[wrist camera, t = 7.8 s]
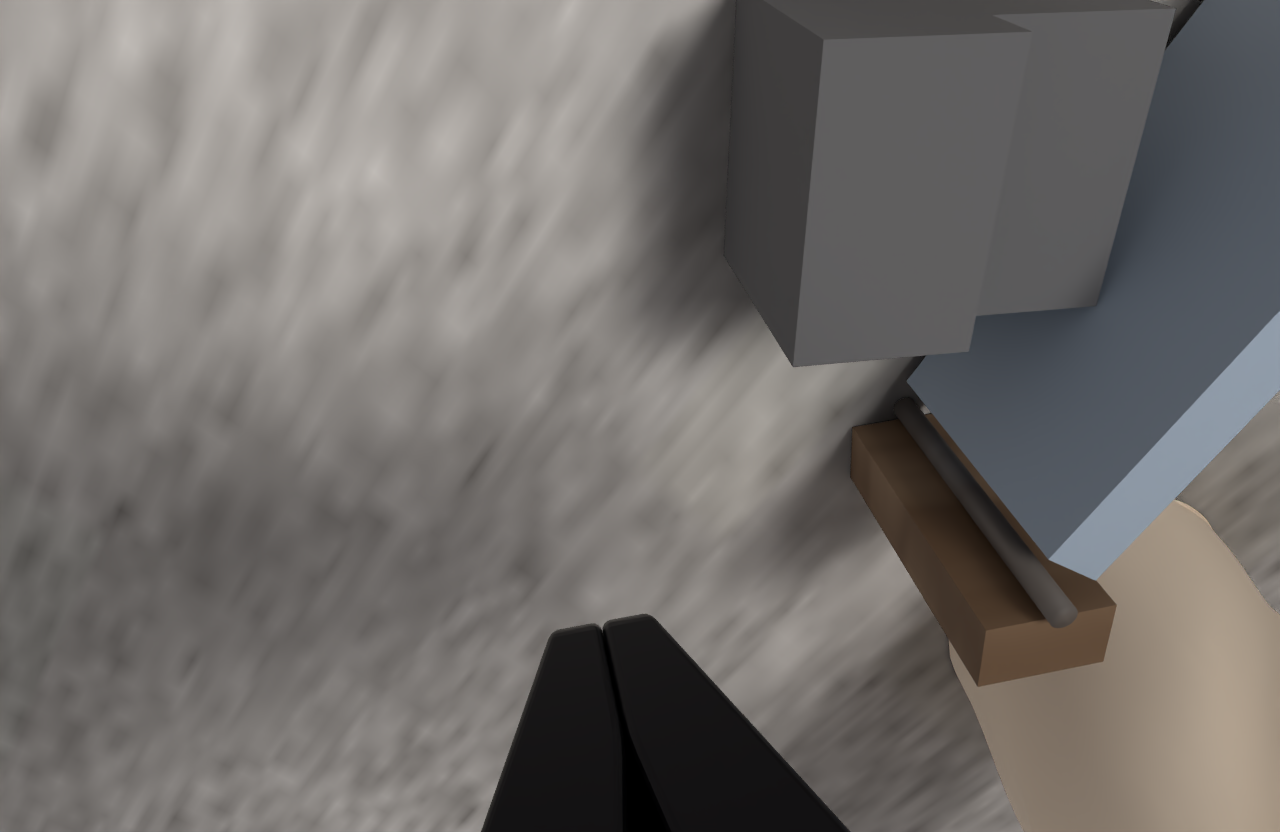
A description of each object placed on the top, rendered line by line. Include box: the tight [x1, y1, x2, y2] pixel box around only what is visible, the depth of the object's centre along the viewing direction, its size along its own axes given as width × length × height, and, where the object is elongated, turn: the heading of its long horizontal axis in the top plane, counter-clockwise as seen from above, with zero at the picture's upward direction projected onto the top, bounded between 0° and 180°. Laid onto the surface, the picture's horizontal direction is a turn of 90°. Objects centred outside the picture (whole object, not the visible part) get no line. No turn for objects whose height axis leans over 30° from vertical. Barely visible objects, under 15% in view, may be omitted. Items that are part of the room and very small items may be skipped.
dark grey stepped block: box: [724, 0, 1176, 367], centre depth 17 cm, size 5×6×5 cm
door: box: [907, 0, 1280, 581], centre depth 17 cm, size 11×2×6 cm, turn 148°
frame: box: [850, 398, 1117, 687], centre depth 16 cm, size 16×2×7 cm, turn 5°
